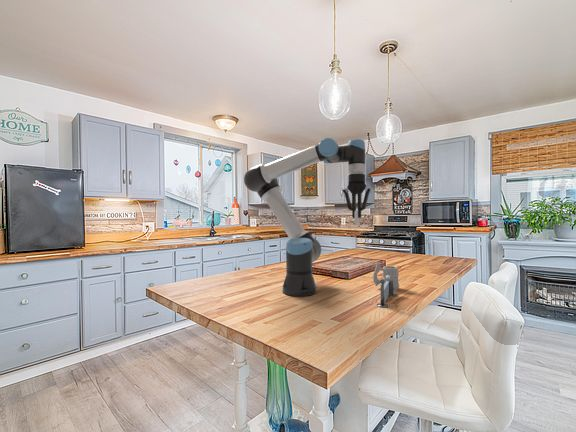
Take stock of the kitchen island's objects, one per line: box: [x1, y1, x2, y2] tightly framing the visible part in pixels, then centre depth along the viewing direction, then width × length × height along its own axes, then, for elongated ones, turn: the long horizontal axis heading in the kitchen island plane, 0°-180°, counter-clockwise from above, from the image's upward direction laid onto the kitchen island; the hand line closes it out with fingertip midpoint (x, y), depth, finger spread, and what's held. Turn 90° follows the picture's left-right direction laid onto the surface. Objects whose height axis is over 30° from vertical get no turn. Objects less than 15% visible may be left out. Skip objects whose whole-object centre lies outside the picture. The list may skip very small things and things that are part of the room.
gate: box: [384, 275, 390, 304], centre depth 112 cm, size 16×2×7 cm, turn 153°
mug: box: [372, 262, 400, 291], centre depth 128 cm, size 8×12×12 cm, turn 87°
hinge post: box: [376, 278, 389, 309], centre depth 104 cm, size 4×4×10 cm
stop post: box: [388, 280, 399, 298], centre depth 118 cm, size 3×4×6 cm
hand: (356, 225), depth 128 cm, fingers closed
